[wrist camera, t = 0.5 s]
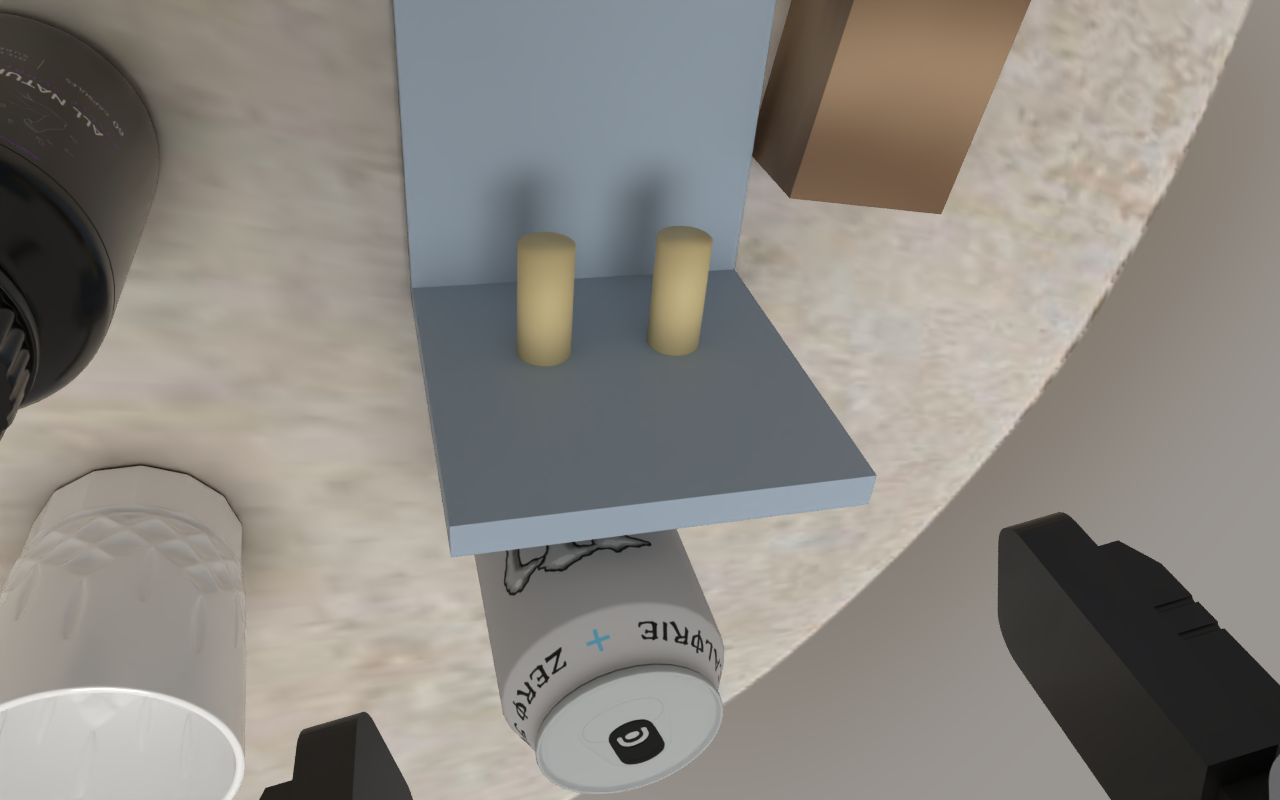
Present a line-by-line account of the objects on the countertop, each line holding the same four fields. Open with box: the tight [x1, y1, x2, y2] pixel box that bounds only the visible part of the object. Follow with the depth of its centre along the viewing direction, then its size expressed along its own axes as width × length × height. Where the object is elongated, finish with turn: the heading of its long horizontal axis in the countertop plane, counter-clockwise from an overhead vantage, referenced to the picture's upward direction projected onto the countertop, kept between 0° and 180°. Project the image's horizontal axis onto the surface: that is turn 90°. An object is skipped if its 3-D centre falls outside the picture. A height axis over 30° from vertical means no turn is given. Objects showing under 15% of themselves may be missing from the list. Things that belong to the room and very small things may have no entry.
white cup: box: [0, 466, 246, 800], centre depth 31 cm, size 8×8×10 cm
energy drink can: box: [474, 529, 724, 794], centre depth 30 cm, size 6×6×15 cm
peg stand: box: [393, 0, 877, 557], centre depth 23 cm, size 20×11×12 cm, turn 175°
